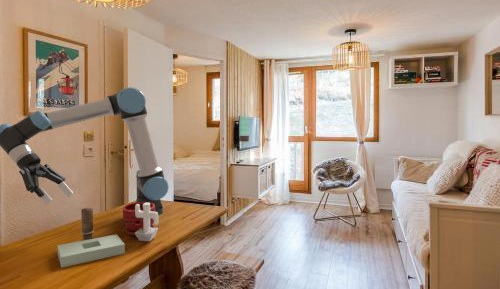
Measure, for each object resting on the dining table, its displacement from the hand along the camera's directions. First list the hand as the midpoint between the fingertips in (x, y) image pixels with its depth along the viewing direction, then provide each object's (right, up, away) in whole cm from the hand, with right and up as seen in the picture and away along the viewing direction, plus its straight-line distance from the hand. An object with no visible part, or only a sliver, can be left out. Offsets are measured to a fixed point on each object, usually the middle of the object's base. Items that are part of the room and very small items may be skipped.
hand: (60, 198), depth 125 cm
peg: (+10, -17, +1) cm, 20 cm away
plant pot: (+28, -17, +11) cm, 34 cm away
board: (+18, -18, -12) cm, 28 cm away
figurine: (+33, -17, +4) cm, 38 cm away
